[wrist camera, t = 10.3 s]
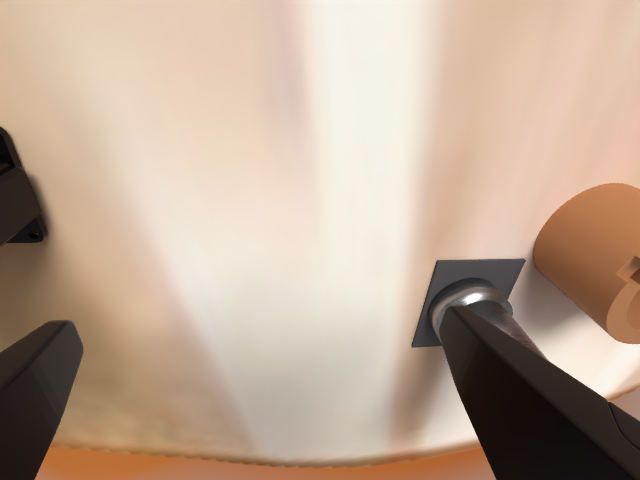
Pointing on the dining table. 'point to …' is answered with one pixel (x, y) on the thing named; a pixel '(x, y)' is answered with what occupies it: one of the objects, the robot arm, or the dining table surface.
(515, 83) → the dining table surface
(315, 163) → the dining table surface
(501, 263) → the dark grey rectangular plate
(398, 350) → the dining table surface
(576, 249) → the bracket
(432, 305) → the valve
